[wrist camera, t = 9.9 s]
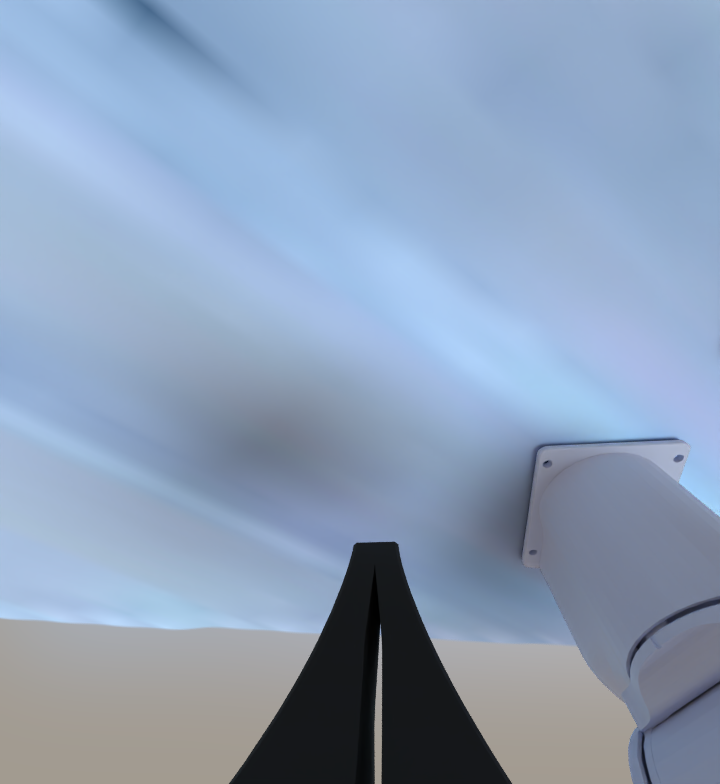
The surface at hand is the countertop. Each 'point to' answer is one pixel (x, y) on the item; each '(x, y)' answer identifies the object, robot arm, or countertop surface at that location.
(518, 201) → the countertop surface
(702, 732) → the robot arm
